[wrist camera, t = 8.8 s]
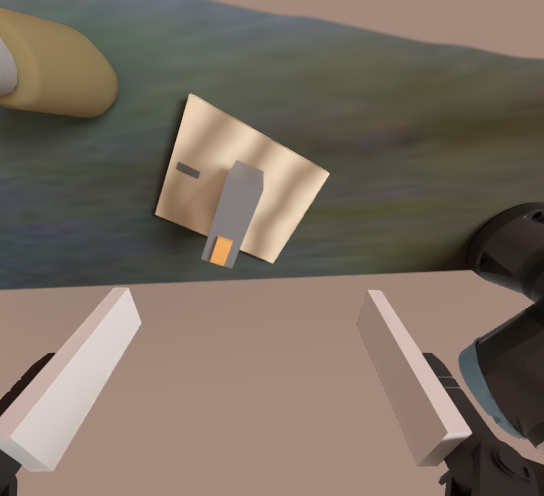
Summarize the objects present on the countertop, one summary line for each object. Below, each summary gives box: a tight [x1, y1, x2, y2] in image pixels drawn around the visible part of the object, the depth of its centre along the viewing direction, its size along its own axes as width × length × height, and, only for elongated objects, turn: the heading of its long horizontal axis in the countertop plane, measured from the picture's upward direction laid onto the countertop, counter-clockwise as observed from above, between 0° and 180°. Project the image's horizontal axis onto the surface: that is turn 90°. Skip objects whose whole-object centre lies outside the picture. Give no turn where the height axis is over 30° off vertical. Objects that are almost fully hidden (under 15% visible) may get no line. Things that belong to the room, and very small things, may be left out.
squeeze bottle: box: [0, 8, 119, 118], centre depth 20 cm, size 8×8×18 cm
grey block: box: [201, 160, 264, 269], centre depth 27 cm, size 10×4×8 cm, turn 157°
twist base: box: [155, 94, 329, 263], centre depth 33 cm, size 20×17×4 cm
